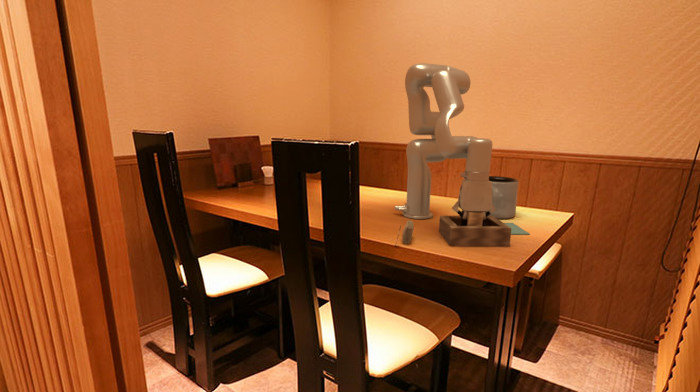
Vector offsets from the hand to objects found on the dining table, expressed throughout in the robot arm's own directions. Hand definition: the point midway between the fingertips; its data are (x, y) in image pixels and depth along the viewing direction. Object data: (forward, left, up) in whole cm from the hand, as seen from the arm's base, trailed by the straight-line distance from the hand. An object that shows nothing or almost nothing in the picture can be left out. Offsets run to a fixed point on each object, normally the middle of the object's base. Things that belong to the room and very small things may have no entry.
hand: (471, 229), depth 125 cm
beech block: (0, 0, -2) cm, 2 cm away
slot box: (0, -1, -3) cm, 3 cm away
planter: (+20, +31, -3) cm, 38 cm away
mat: (+16, +11, -3) cm, 20 cm away
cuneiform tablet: (-23, -4, -4) cm, 24 cm away
